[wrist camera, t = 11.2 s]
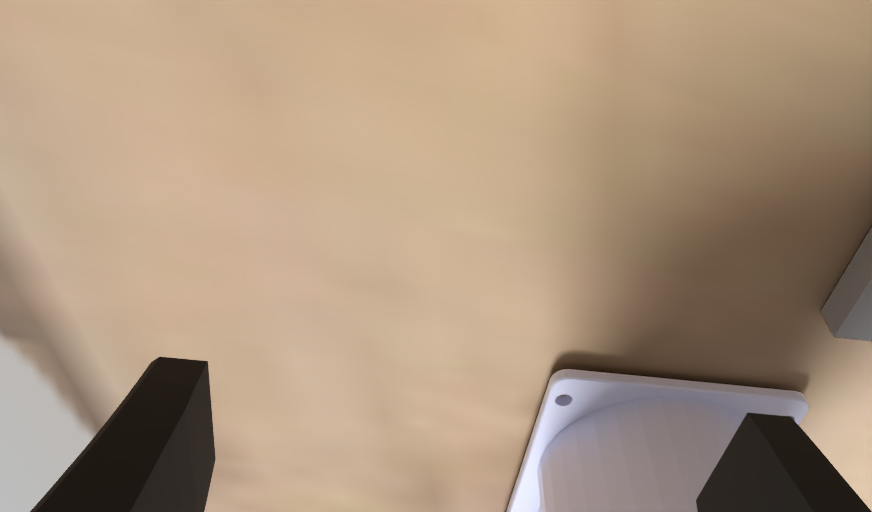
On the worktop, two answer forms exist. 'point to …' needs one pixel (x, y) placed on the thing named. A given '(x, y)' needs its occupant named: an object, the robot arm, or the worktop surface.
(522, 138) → the worktop surface
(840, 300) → the gear board
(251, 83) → the worktop surface
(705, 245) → the worktop surface
